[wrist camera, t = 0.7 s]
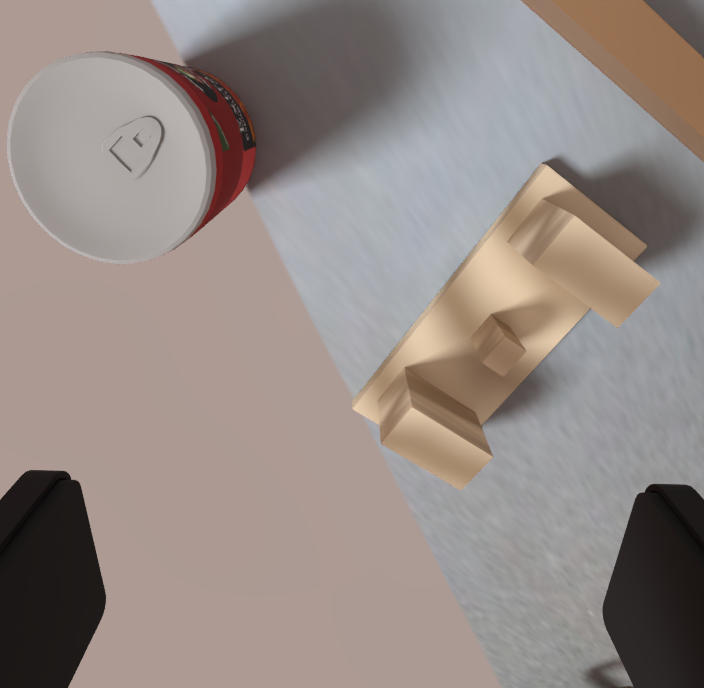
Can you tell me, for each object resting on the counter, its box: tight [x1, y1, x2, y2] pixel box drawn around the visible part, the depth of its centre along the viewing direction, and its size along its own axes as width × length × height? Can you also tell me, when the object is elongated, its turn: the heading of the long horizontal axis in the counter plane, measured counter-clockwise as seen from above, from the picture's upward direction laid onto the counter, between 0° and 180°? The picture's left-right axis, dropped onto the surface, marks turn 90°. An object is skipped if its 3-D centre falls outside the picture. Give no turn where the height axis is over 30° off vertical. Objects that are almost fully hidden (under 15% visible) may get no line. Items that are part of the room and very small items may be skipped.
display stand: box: [352, 163, 660, 490], centre depth 32 cm, size 19×8×6 cm, turn 146°
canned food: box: [7, 51, 256, 264], centre depth 25 cm, size 8×8×11 cm
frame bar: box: [521, 0, 704, 162], centre depth 27 cm, size 18×3×3 cm, turn 55°
